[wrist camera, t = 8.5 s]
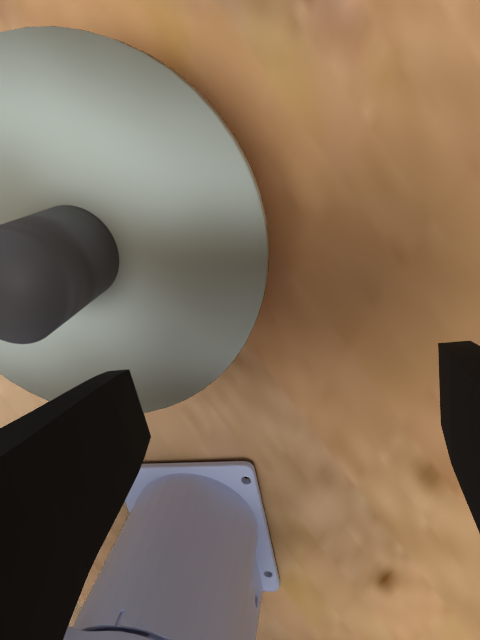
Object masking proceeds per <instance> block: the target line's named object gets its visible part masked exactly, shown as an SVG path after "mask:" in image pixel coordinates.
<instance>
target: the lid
mask: <svg viewBox="0 0 480 640" xmlns="http://www.w3.org/2000/svg"><path fill="white" fill-rule="evenodd" d="M268 267H269V239H268V229H267V220H266V215H265V211H264V207H263V202H262V198H261V194H260V191H259V188H258V185H257V183H256V180H255V177H254V175H253V172H252V169H251V167H250V164H249V162H248V160H247V158H246V157H245V155H244V153H243V151H242V149H241V147H240V145H239V143H238V141H237V139H236V138H235V136H234V135H233V134H232V132H231V131H230V129H229V128H228V126H227V125H226V124H225V122H224V121H223V119H222V118H221V116H220V115H219V114H218V112H217V111H216V110H215V109H214V108H213V107H212V106H211V105H210V104H209V102H208V101H207V100H206V99H205V98H204V97H203V96H202V95H201V94H200V93H199V91H197V90H196V89H195V88H194V87H193V86H192V85H190V84H189V83H188V82H187V81H186V80H185V79H183V78H182V77H181V76H180V75H179V74H178V73H176V72H175V71H174V70H172V69H171V68H169V67H168V66H166V65H165V64H163V63H161V62H160V61H158V60H157V59H155V58H154V57H152V56H151V55H149V54H147V53H145V52H143V51H140V50H138V49H136V48H134V47H132V46H130V45H127V44H125V43H123V42H120V41H117V40H114V39H111V38H108V37H105V36H101V35H98V34H95V33H91V32H88V31H85V30H79V29H71V28H64V27H57V26H45V27H24V28H20V29H15V30H10V31H5V32H0V374H1V375H3V376H4V377H5V378H7V379H8V380H10V381H11V382H13V383H15V384H16V385H18V386H20V387H22V388H23V389H25V390H27V391H28V392H31V393H33V394H35V395H37V396H39V397H41V398H44V399H46V400H48V401H51V400H53V399H54V398H56V397H58V396H60V395H61V394H63V393H65V392H67V391H69V390H70V389H72V388H74V387H76V386H77V385H79V384H81V383H83V382H85V381H87V380H89V379H91V378H93V377H95V376H97V375H99V374H102V373H104V372H107V371H115V370H127V369H129V370H130V373H131V376H132V379H133V382H134V385H135V388H136V391H137V395H138V398H139V401H140V404H141V407H142V410H143V413H145V412H151V411H155V410H158V409H162V408H166V407H169V406H172V405H174V404H176V403H179V402H181V401H184V400H186V399H188V398H189V397H191V396H193V395H195V394H196V393H198V392H200V391H202V390H203V389H204V388H206V387H207V386H208V385H209V384H211V383H212V382H213V381H214V380H216V379H217V378H218V377H219V376H220V375H221V374H222V373H223V372H224V371H225V370H226V369H227V367H228V366H229V365H230V364H231V363H232V362H233V361H234V359H235V358H236V356H237V355H238V353H239V352H240V350H241V349H242V348H243V346H244V345H245V343H246V341H247V339H248V336H249V334H250V332H251V330H252V328H253V326H254V324H255V321H256V319H257V316H258V313H259V310H260V307H261V303H262V300H263V297H264V294H265V288H266V282H267V276H268Z"/></svg>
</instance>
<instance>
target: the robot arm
mask: <svg viewBox="0 0 480 640" xmlns="http://www.w3.org/2000/svg"><path fill="white" fill-rule="evenodd" d="M438 348H439V379H440V410H441V426H442V430H443V434H444V438H445V442H446V446H447V449H448V453H449V457H450V460H451V464H452V467H453V469H454V472H455V474H456V477H457V479H458V482H459V484H460V487H461V489H462V491H463V494H464V496H465V499H466V501H467V504H468V506H469V508H470V511H471V513H472V516H473V518H474V521H475V523H476V525H477V528H478V530H479V533H480V346H479V345H477V344H475V343H473V342H471V341H461V342H449V343H438ZM150 438H151V435H150V432H149V429H148V426H147V423H146V420H145V416H144V413H143V410H142V407H141V404H140V401H139V398H138V395H137V391H136V388H135V385H134V382H133V379H132V376H131V373H130V370H129V369H127V370H115V371H107V372H104V373H102V374H99V375H97V376H95V377H93V378H91V379H89V380H87V381H85V382H83V383H81V384H79V385H77V386H76V387H74V388H72V389H70V390H69V391H67V392H65V393H63V394H61V395H60V396H58V397H56V398H54V399H53V400H51V401H49V402H47V403H46V404H44V405H42V406H40V407H39V408H37V409H35V410H33V411H32V412H30V413H28V414H26V415H24V416H22V417H21V418H19V419H17V420H15V421H13V422H11V423H10V424H8V425H6V426H4V427H2V428H0V640H255V639H256V632H257V626H258V619H259V612H260V605H261V598H262V592H263V591H276V590H278V589H279V585H280V580H279V575H278V571H277V566H276V562H275V557H274V553H273V548H272V544H271V539H270V535H269V530H268V526H267V521H266V517H265V513H264V508H263V504H262V499H261V495H260V490H259V486H258V481H257V477H256V472H255V468H254V466H253V465H252V464H251V463H250V462H247V461H226V462H192V463H157V464H142V463H143V460H144V457H145V454H146V451H147V448H148V444H149V441H150ZM244 477H248V478H250V479H245V478H244ZM124 501H125V503H126V506H127V508H128V511H129V516H128V518H127V520H126V522H125V524H124V526H123V528H122V530H121V532H120V534H119V536H118V538H117V540H116V542H115V544H114V546H113V548H112V550H111V552H110V554H109V556H108V558H107V560H106V562H105V564H104V565H103V567H102V569H101V571H100V573H99V575H98V577H97V579H96V581H95V583H94V585H93V587H92V589H91V591H90V593H89V595H88V597H87V599H86V601H85V603H84V605H83V607H82V609H81V611H80V613H79V615H78V617H77V619H76V621H75V623H74V625H73V627H69V626H68V625H69V622H70V619H71V616H72V614H73V611H74V609H75V606H76V604H77V601H78V599H79V596H80V594H81V591H82V588H83V586H84V583H85V581H86V578H87V576H88V573H89V571H90V569H91V567H92V565H93V562H94V560H95V558H96V556H97V554H98V552H99V550H100V548H101V546H102V544H103V542H104V540H105V538H106V536H107V534H108V532H109V531H110V529H111V527H112V525H113V523H114V521H115V519H116V517H117V515H118V513H119V511H120V509H121V507H122V505H123V503H124Z"/></svg>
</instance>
